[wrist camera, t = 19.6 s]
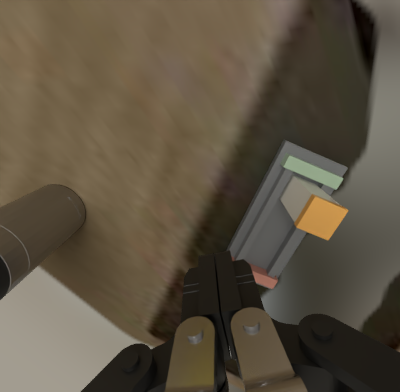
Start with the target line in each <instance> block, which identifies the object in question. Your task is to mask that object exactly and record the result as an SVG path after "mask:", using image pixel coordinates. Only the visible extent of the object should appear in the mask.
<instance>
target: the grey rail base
mask: <svg viewBox="0 0 400 392" xmlns="http://www.w3.org/2000/svg"><path fill="white" fill-rule="evenodd" d="M347 169H348V167H346V166H344V165H341V164H339V163H337V162H335V161H332V160H330V159H328V158H325V157H323V156H321V155H318V154H316V153H314V152H311V151H309V150H307V149H305V148H302V147H300V146H298V145H295V144H293V143H291V142H288V141H286V140H283V142H282V144H281V146H280V148H279V149H278V151H277V153H276V155H275V157H274V159H273V161H272V163H271V165H270V167H269V169H268V171H267V173H266V174H265V176H264V178H263V180H262V182H261V184H260V186H259V188H258V190H257V192H256V194H255V196H254V198H253V199H252V201H251V203H250V205H249V207H248V209H247V211H246V213H245V215H244V217H243V219H242V221H241V223H240V225H239V226H238V228H237V230H236V232H235V234H234V236H233V238H232V240H231V242H230V244H229V246H228V248H227V250H226V251H229V250H230V252H231V257H232V261H236V260H241V259H244V260H245V261H246V262H247V263H249V264H250V265H251V269H252V272H253V275H254V278H255V282H256V284H259V285H261V286H264V287H266V288H269V289H271V288H272V289H273V288H274V286H275V285H276V283H277V282H278V280H277V278H278V277H279V275H280V274H281V272H282V271H283V269H284V267H285V266H286V264H287V262H288V261H289V260H290V258H291V256H292V255H293V253H294V252H295V250H296V249H297V247H298V245H299V244H300V242H301V241H302V239H303V238H304V236H305V234H306V233H307V232H306V231H304V230H301V229H299V228H296V226H295V225H294V223H295V222H294V221H293V219H292V218H291V216H290V214H289V213H288V211H287V210H286V208H285V206H284V205H283V203H282V202H281V200H280V199H279V197H280V195H281V193H282V191H283V190H284V188H285V186H286V184H287V182H288V181H289V179H290V177H291V175H292V174H293V175H295V176H297V177H300V178H302V179H304V180H307V181H309V182H311V183H314V184H316V185H317V186H318V187H320V188H321V189H322V190H323V191H324V192H325V193H327V194H328V195H329V196H330V195H331V194H332V192H333V190H334V189H336V190H337V188H338V186H339V185H340V183H341V182H342V180H343V179H344V178H342V176H343V175H344V173H345V172H346V170H347Z"/></svg>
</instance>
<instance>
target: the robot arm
mask: <svg viewBox="0 0 400 392" xmlns="http://www.w3.org/2000/svg"><path fill="white" fill-rule="evenodd" d="M84 220H85V208H84V205H83V203H82V201H81V199H80V198H79V197H78V196H77V194H76V193H74V192H73V191H72V190H70V189H68V188H67V187H64V186H61V185H55V184H54V185H47V186H44V187H42V188H40V189H38V190H36V191H34V192H32V193H30V194H27V195H25V196H23V197H21V198H19V199H17V200H15V201H13V202H11V203H9V204H7V205H5V206H3V207H0V300H1V299H2V298H3V297H4V296H5V295H6V294H7V293H9V292H10V291H11V290H12V289H13V288H14V287H15V286H16V285H17V284H18V283H20V282H21V281H22V280H23V279H24V278H25V277H26V276H27V275H28V274H29V273H31V272H32V270H34V269H35V268H36V267H37V266H38V265H39V264H40V263H42V262H43V261H44V260H45V259H46V258H47V257H48V256H49V255H50V254H52V253H53V252H54V251H55V250H56V249H57V248H58V247H59V246H60V245H61V244H63V243H64V242H65V241H66V240H67V239H68V238H69V237H70V236H71V235H73V234H74V233H75V232H76V231H77V230H78V229H79V228H80V227H81V226H82V225H83V223H84ZM215 258H216V259H215ZM229 347H230V350H229ZM230 351H231V355H232V359H236V361H237V365H238V370H239V374H240V376H241V378H242V380H243V383H244V388H245V392H400V352H398V351H396V350H394V349H392V348H390V347H388V346H386V345H384V344H382V343H380V342H379V341H377V340H375V339H373V338H371V337H369V336H367V335H365V334H363V333H361V332H359V331H358V330H356V329H354V328H352V327H350V326H348V325H346V324H344V323H342V322H340V321H338V320H336V319H335V318H332V317H330V316H327V315H323V314H311V315H308V316H306V317H304V318H303V319H302V320H301V321H300V323H299V325H292V324H284V323H280V322H278V321H276V320H274V319H272V318H271V317H270V316H269V315H268V314H267V313H266V312H265V310H264V307H263V304H262V301H261V298H260V294H259V291H258V288H257V285H256V282H255V278H254V275H253V272H252V269H251V265H250V264H249V263H247V262H246V261H245V260H244V259H241V260H236V261H232V257H231V252H230V250H229V251H223V252H218V253H215V255H214V253H212V254H207V255H201V256H199V267H197V268H191V269H189V270H188V272H187V274H186V275H185V277H184V288H183V301H182V314H181V324H180V326H179V327H178V328H177V330H176V333H175V335H174V336H173V337H172V338H171V339H170V340H169V341H167V342H165V343H164V344H162V345H160V346H157V347H155V348H153V349H150V348H149V347H148V346H147V345H145V344H134V345H130V346H129V347H127V348H125V349H123V350H122V351H121V352H120V353H119V354H118V355H117V356H116V357H115V358H114V359H113V360H112V361H111V362H110V363H109V364H108V365H107V366H106V367H105V368H104V369H103V370H102V371H101V372H100V373H99V374H98V375H97V376H96V377H95V378H94V379H93V380H92V381H91V382H90V383H89V384H88V385H87V386H86V387H85V388H84V389H83V390H82V391H81V392H229V386H228V379H227V375H226V371H225V361H226V360H231V358H230Z"/></svg>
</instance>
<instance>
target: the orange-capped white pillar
mask: <svg viewBox="0 0 400 392" xmlns="http://www.w3.org/2000/svg"><path fill="white" fill-rule="evenodd" d="M279 199H280V200H281V202H282V203H283V205H284V206H285V208H286V210H287V211H288V213H289V214H290V216H291V218H292V219H293V221H294V222H295V223H294V225H295V226H296V228H299V229H301V230H304V231H306V232H308V233H311V234H313V235H316V236H318V237H321V238H323V239H326V240H329V238H330V237H331V236H332V234H333V233H334V231H335V230H336V228H337V227H338V225H339V224H340V222H341V221H342V219H343V218H344V217H345V215H346V214H347V212H348V210H347V209H346V208H345V207H343V206H341V205H340V204H338V203H337V202H336V201H335V200H334V199H332V198H331V197H330V196H329V195H328V194H327V193H325V192H324V191H323V190H322V189H321V188H320V187H318V186H317V185H316V184H314V183H311V182H309V181H307V180H304V179H302V178H300V177H297V176H295V175H293V174H292V175H291V177H290V179H289V181H288V182H287V184H286V186H285V188H284V190H283V191H282V193H281V195H280V197H279Z"/></svg>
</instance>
